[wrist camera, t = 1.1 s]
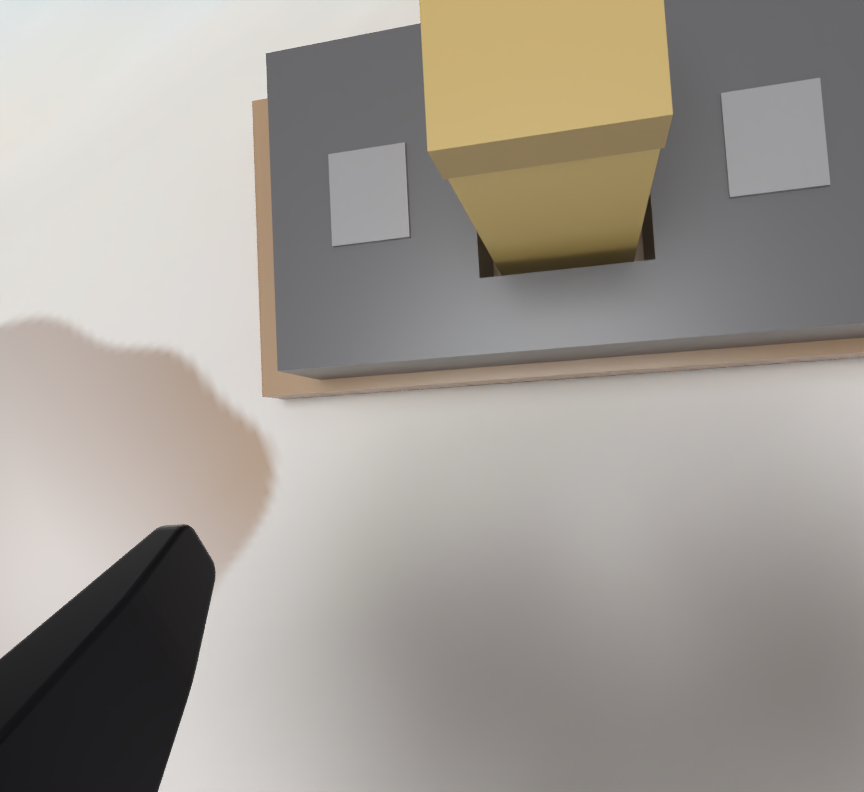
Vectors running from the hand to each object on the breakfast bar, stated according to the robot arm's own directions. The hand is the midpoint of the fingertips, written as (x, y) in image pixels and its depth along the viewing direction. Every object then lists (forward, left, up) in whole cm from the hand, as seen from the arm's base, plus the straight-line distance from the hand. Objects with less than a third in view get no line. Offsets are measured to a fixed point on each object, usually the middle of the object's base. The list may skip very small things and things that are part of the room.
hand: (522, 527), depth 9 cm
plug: (+7, -3, -12) cm, 14 cm away
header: (+7, -3, -13) cm, 16 cm away
